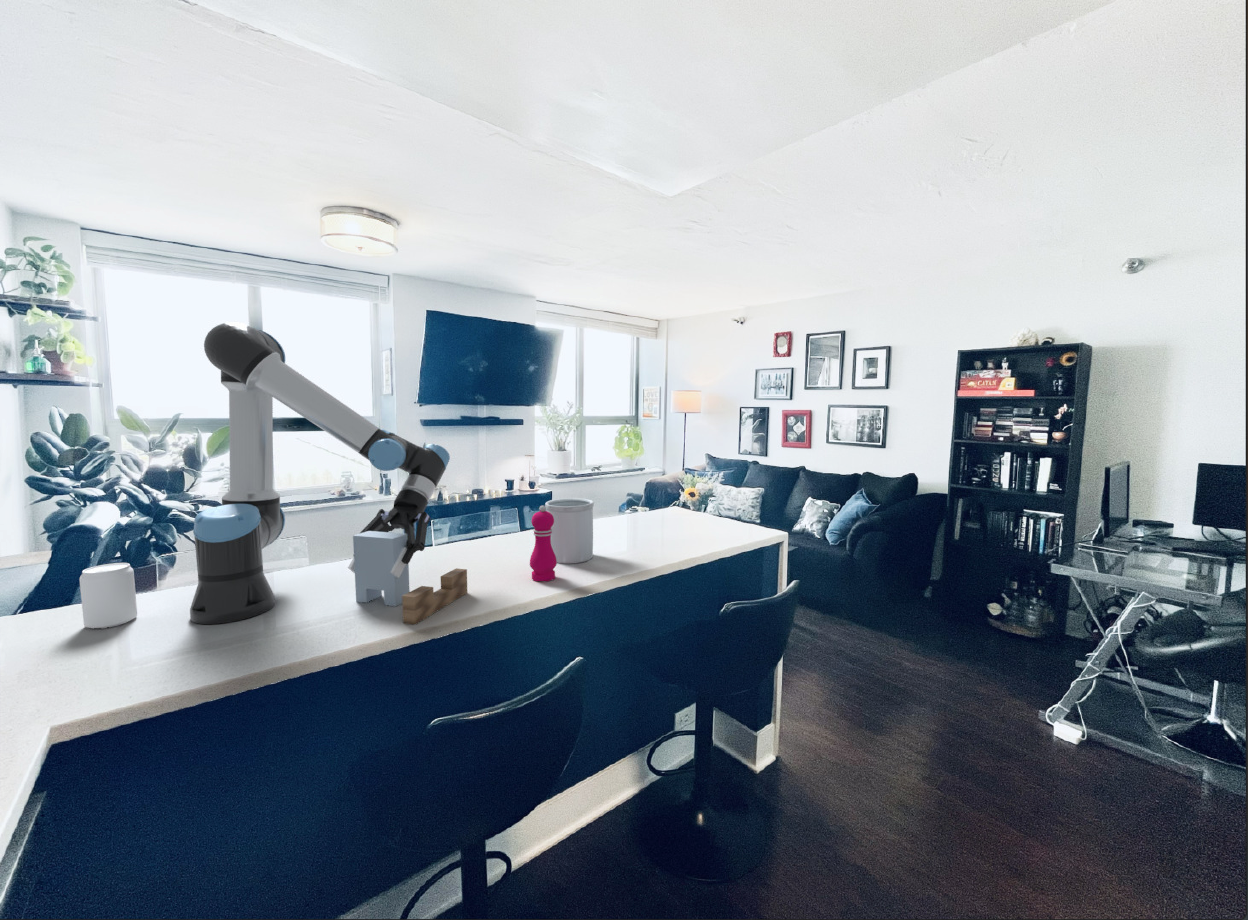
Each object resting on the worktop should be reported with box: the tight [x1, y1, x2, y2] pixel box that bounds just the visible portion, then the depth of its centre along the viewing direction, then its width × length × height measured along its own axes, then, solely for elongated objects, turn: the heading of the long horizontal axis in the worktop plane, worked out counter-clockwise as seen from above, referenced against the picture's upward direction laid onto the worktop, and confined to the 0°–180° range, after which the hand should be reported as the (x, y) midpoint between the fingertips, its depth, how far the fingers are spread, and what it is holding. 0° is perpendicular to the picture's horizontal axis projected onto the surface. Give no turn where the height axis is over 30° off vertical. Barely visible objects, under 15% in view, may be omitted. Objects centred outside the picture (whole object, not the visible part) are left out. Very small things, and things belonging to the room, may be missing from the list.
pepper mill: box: [529, 505, 558, 582], centre depth 140 cm, size 7×7×20 cm
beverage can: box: [79, 562, 138, 629], centre depth 110 cm, size 8×8×12 cm
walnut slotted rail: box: [402, 567, 468, 625], centre depth 119 cm, size 20×3×6 cm, turn 165°
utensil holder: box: [544, 497, 594, 564], centre depth 160 cm, size 15×15×18 cm
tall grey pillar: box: [352, 531, 411, 607], centre depth 123 cm, size 11×5×16 cm, turn 75°
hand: (373, 572), depth 120 cm, fingers closed on tall grey pillar, 11 cm apart
